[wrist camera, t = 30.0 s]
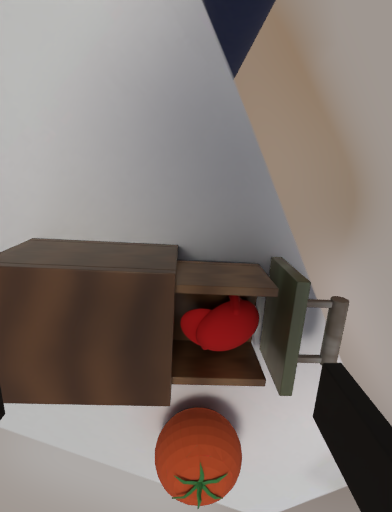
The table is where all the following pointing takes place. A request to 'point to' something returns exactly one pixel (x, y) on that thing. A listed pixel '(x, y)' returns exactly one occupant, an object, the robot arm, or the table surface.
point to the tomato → (198, 456)
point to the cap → (221, 324)
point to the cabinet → (87, 322)
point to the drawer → (273, 330)
